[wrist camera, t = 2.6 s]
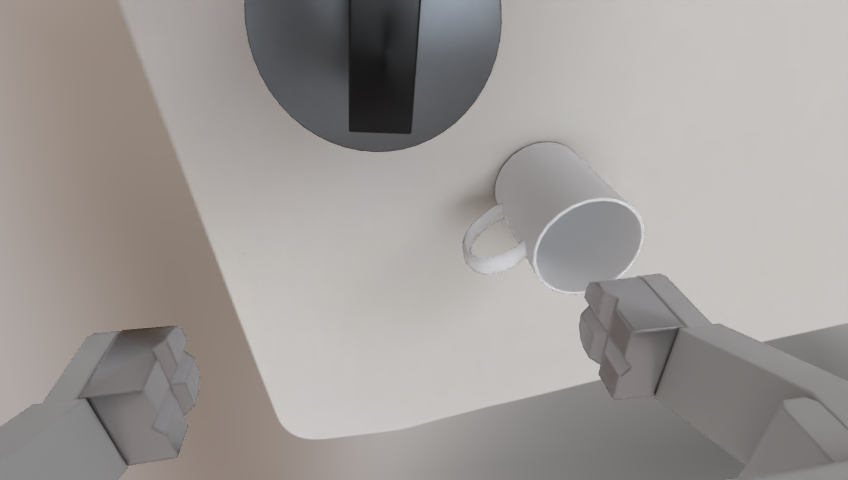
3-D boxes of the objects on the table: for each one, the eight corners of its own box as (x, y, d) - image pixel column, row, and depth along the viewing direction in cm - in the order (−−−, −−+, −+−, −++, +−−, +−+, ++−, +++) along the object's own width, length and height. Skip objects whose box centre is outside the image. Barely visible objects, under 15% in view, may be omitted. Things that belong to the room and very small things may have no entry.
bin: (287, 80, 32) (238, 186, 18) (274, -111, 27) (190, -171, 13) (440, 88, 34) (504, 191, 20) (458, -90, 28) (564, -123, 14)
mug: (580, 130, 39) (648, 184, 30) (583, 210, 43) (642, 279, 34) (437, 166, 39) (463, 231, 30) (454, 243, 43) (480, 320, 34)
